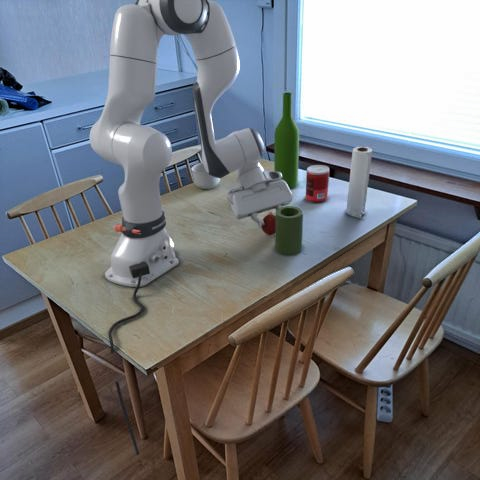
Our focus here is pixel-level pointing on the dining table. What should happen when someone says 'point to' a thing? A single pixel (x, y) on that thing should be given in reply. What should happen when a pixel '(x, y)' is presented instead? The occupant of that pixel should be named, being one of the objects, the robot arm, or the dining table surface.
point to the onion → (269, 224)
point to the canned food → (317, 183)
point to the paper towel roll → (358, 181)
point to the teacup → (203, 177)
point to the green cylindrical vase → (289, 230)
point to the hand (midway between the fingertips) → (271, 223)
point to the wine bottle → (287, 145)
